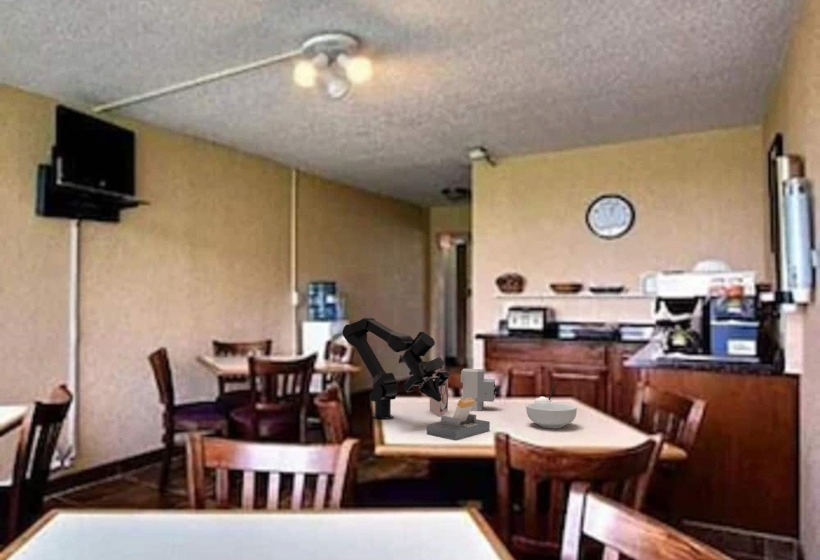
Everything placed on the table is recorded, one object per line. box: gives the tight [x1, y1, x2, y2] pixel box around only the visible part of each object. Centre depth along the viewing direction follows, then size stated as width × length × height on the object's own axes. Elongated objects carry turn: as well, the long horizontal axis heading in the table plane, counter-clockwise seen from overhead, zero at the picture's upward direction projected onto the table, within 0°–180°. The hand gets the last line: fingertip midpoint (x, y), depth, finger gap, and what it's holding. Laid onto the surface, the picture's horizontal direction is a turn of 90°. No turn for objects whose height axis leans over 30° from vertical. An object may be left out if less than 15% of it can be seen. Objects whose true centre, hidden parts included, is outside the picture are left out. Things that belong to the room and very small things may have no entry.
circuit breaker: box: [460, 368, 500, 412], centre depth 261 cm, size 8×14×15 cm, turn 78°
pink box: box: [429, 373, 449, 418], centre depth 252 cm, size 11×7×15 cm, turn 161°
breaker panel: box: [426, 413, 491, 441], centre depth 222 cm, size 12×18×6 cm, turn 138°
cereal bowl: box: [525, 401, 577, 429], centre depth 232 cm, size 17×17×7 cm
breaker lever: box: [452, 398, 475, 422], centre depth 220 cm, size 2×6×8 cm, turn 138°
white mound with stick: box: [534, 381, 557, 403], centre depth 253 cm, size 10×6×12 cm, turn 58°
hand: (440, 401), depth 227 cm, fingers closed
